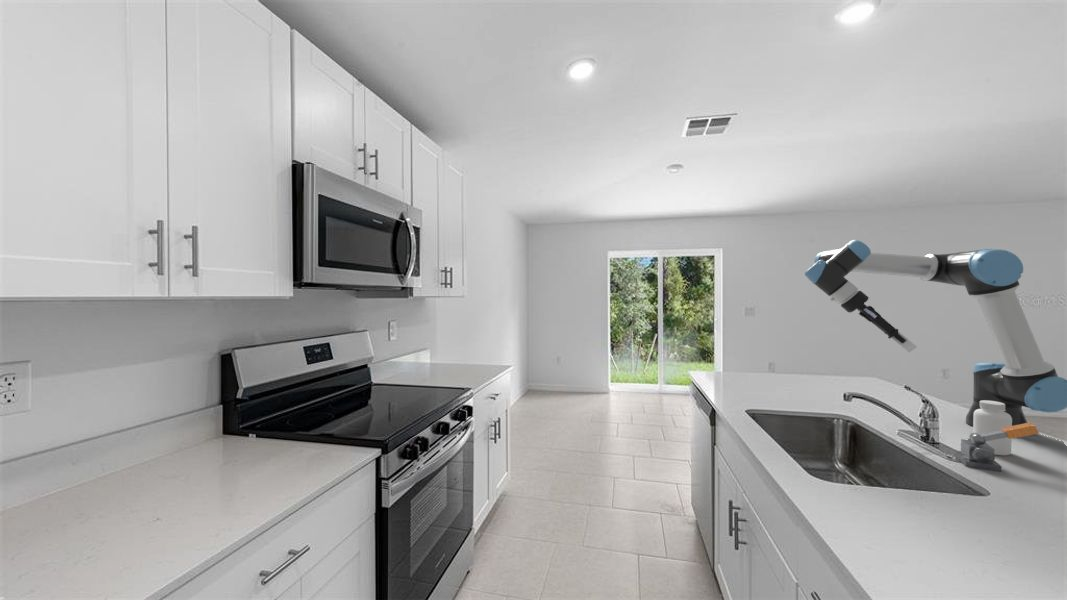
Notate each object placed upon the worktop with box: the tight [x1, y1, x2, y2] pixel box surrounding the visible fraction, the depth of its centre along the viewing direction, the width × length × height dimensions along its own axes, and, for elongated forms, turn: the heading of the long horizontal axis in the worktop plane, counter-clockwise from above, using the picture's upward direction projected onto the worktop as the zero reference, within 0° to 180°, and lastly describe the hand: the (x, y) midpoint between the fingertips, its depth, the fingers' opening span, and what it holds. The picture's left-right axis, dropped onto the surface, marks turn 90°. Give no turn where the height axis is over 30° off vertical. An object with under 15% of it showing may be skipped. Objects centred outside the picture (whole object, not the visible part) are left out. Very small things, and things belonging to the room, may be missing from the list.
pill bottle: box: [972, 400, 1013, 456], centre depth 128 cm, size 8×8×15 cm
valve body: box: [954, 438, 1002, 472], centre depth 119 cm, size 7×9×6 cm
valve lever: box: [968, 422, 1040, 445], centre depth 117 cm, size 2×3×13 cm
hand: (912, 349), depth 136 cm, fingers closed
